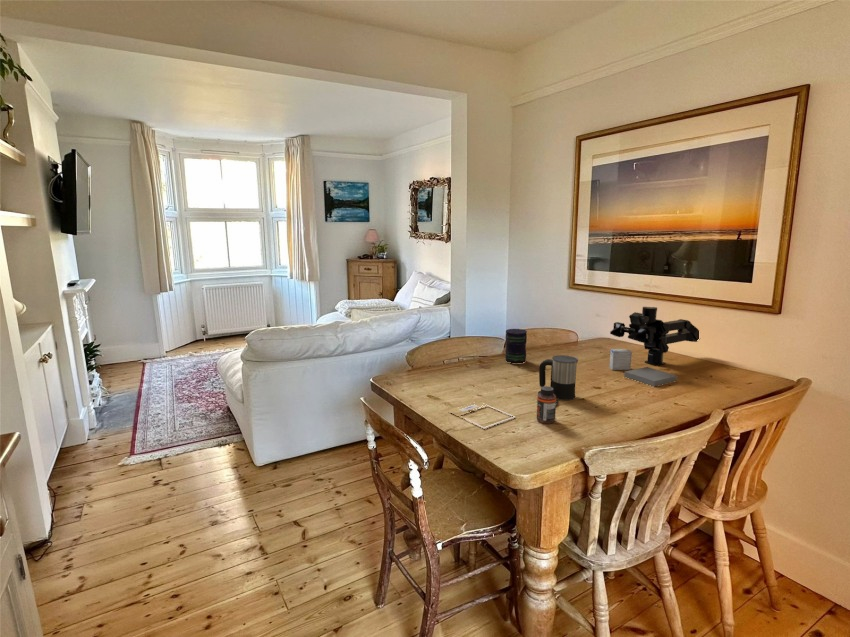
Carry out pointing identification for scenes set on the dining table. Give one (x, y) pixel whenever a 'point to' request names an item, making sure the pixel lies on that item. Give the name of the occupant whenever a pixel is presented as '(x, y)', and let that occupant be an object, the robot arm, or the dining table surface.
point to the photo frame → (482, 407)
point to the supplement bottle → (546, 405)
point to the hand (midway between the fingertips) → (619, 334)
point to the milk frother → (560, 376)
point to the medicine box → (620, 359)
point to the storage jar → (515, 345)
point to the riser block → (650, 376)
